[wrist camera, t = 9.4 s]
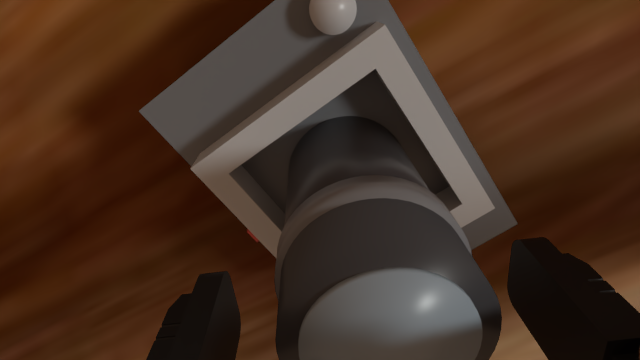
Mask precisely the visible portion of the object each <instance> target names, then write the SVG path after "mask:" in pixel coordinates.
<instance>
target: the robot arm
mask: <svg viewBox="0 0 640 360" xmlns="http://www.w3.org/2000/svg"><path fill="white" fill-rule="evenodd" d="M507 287H508V294H509V298H510V301H511V303H512V305H513V307H514V308H515V310H516V312H517V313H518V315H519V316H520V318H521V319H522V321H523V322H524V324H525V325H526V327H527V328H528V330H529V331H530V333H531V334H532V336H533V337H534V339H535V340H536V342H537V343H538V345H539V346H540V348H541V349H542V351H543V352H544V354H545V355H546V357H547V358H548V360H640V313H639V312H638V311H637V310H636V309H635V308H634V307H633V306H632V305H630V304H629V303H628V302H627V301H626V300H625V299H624V298H623V297H622V296H621V295H620V294H619V293H616V292H615V289H614V288H613V287H612V286H611V285H610V284H608V283H607V282H606V281H603V278H602V277H601V276H600V275H599V274H598V273H597V272H596V271H595V270H594V269H593V268H592V267H591V266H590V265H589V264H587V263H585V262H583V261H581V260H580V259H578V258H576V257H574V256H572V255H570V254H569V253H565V254H562V253H561V252H560V251H559V250H558V249H557V248H556V247H555V246H554V245H553V244H552V243H551V242H550V241H549V240H548V239H546V238H544V237H539V238H530V239H521V240H515V241H514V242H513V244H512V248H511V257H510V266H509V274H508V284H507ZM240 329H241V322H240V313H239V309H238V305H237V301H236V297H235V293H234V290H233V286H232V282H231V278H230V275H229V273H228V272H227V271H224V272H215V273H205V274H200V275H199V277H198V279H197V282H196V284H195V287H194V289H193V292H192V293H191V294H182V295H181V296H180V297H179V298H178V299H177V300H176V301H175V303H174V304H173V305H172V306H171V307H170V308H169V309H168V311H167V314H166V316H165V318H164V321H163V323H162V328H160V330H159V332H158V334H157V336H156V341H154V343H153V345H152V348H151V350H150V352H149V355H148V357H147V359H146V360H235V358H236V353H237V348H238V342H239V337H240Z"/></svg>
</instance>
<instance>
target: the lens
mask: <svg viewBox="0 0 640 360" xmlns="http://www.w3.org/2000/svg"><path fill="white" fill-rule="evenodd" d="M275 290H276V294H277V298H278V301H279V302H278V315H277V328H276V349H277V354H278V357H279V360H489V358H490V357H491V355H492V353H493V352H494V350H495V347H496V345H497V342H498V340H499V336H500V331H501V321H502V316H501V309H500V305H499V301H498V298H497V296H496V294H495V292H494V290H493V288H492V287H491V285H490V283H489V282H488V280H487V279H486V277H485V276H484V274H483V272H482V271H481V269H480V268H479V266H478V265H477V263H476V262H475V260H474V258H473V257H472V252H471V248H470V245H469V242H468V239H467V238H466V236H465V234H464V232H463V230H462V229H461V227H460V226H459V224H458V223H457V221H456V220H455V218H454V217H453V215H452V214H451V212H450V211H449V210H448V208H447V207H446V206H445V204H444V203H443V202H442V201H441V200H440V199H439V198H438V197H437V196H436V195H435V194H433V193H432V192H430V190H429V189H428V187H427V185H426V184H425V182H424V181H423V179H422V178H421V176H420V175H419V173H418V171H417V170H416V168H415V167H414V165H413V164H412V162H411V161H410V159H409V157H408V156H407V154H406V153H405V151H404V150H403V148H402V147H401V145H400V143H399V142H398V140H397V139H396V138H395V136H394V135H393V134H392V133H391V132H390V131H389V130H388V129H387V128H385V127H384V126H383V125H381V124H379V123H377V122H375V121H373V120H370V119H368V118H363V117H358V116H342V117H336V118H332V119H329V120H326V121H324V122H322V123H320V124H318V125H316V126H315V127H313V128H312V129H310V130H309V131H308V132H307V133H306V134H305V135H304V136H303V137H302V138H301V139H300V141H299V142H298V143H297V145H296V147H295V149H294V150H293V153H292V156H291V159H290V163H289V173H288V186H287V199H286V212H285V225H284V228H283V230H282V233H281V235H280V238H279V243H278V247H277V257H276V267H275Z"/></svg>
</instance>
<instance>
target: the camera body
mask: <svg viewBox="0 0 640 360" xmlns="http://www.w3.org/2000/svg"><path fill="white" fill-rule="evenodd" d="M139 112H140V113H141V114H142V115H143V116H144V117H145V118H146V119H147V120H148V122H149V123H150V124H151V125H152V126H153V127H154V128H155V129H156V130H157V131H158V132H159V133H160V134H161V135H162V136H163V137H164V138H165V139H166V140H167V141H168V142H169V144H170V145H171V146H172V147H173V148H174V149H175V150H176V151H177V152H178V153H179V154H180V155H181V156H182V157H183V158H184V159H185V160H186V161H187V162H188V163H189V164H190V166H191V168H190V169H191V170H192V171H193V172H194V173H195V174H196V175H197V176H198V177H199V178H200V179H201V181H202V182H203V183H204V184H205V185H206V186H207V187H208V188H209V189H210V190H211V191H212V192H213V193H214V194H215V195H216V196H217V197H218V198H219V199H220V200H221V201H222V202H223V203H224V205H225V206H226V207H227V208H228V209H229V210H230V211H231V212H232V213H233V214H234V215H235V216H236V217H237V218H238V219H239V220H240V221H241V222H242V223H243V224H244V225H245V226H246V227H247V233H248V234H249V235H250V236H251V237H252V238H253V239H254V240H255V241H256V242H258V241H260V242H261V243H262V244H263V245H264V246H265V247H266V248H267V249H268V250H269V251H270V252H271V254H272V255H273V256H274V257H275V258H276V257H277V247H278V243H279V238H280V235H281V233H282V230H283V228H284V225H285V212H286V199H287V186H288V173H289V163H290V159H291V156H292V153H293V150H294V149H295V147H296V145H297V143H298V142H299V141H300V139H301V138H302V137H303V136H304V135H305V134H306V133H307V132H308V131H309V130H310V129H312V128H313V127H315V126H316V125H318V124H320V123H322V122H324V121H326V120H329V119H332V118H336V117H342V116H358V117H363V118H368V119H370V120H373V121H375V122H377V123H379V124H381V125H383V126H384V127H385V128H387V129H388V130H389V131H390V132H391V133H392V134H393V135H394V136H395V138H396V139H397V140H398V142H399V143H400V145H401V147H402V148H403V150H404V151H405V153H406V154H407V156H408V157H409V159H410V161H411V162H412V164H413V165H414V167H415V168H416V170H417V171H418V173H419V175H420V176H421V178H422V179H423V181H424V182H425V184H426V185H427V187H428V189H429V190H430V192H432V193H433V194H435V195H436V196H437V197H438V198H439V199H440V200H441V201H442V202H443V203H444V204H445V206H446V207H447V208H448V210H449V211H450V212H451V214H452V215H453V217H454V218H455V220H456V221H457V223H458V224H459V226H460V227H461V229H462V230H463V232H464V234H465V236H466V238H467V239H468V242H469V245H470V248H471V250H472V249H474V248H476V247H478V246H479V245H481V244H483V243H485V242H486V241H488V240H490V239H492V238H494V237H495V236H497V235H499V234H501V233H503V232H504V231H506V230H508V229H510V228H511V227H513V226H515V225H517V224H518V223H517V221H516V220H515V218H514V216H513V215H512V213H511V211H510V209H509V208H508V206H507V204H506V202H505V201H504V199H503V197H502V196H501V194H500V192H499V190H498V189H497V187H496V185H495V184H494V182H493V180H492V178H491V177H490V175H489V173H488V172H487V170H486V168H485V166H484V165H483V163H482V161H481V159H480V158H479V156H478V154H477V153H476V151H475V149H474V147H473V146H472V144H471V142H470V141H469V139H468V137H467V135H466V134H465V132H464V130H463V128H462V127H461V125H460V123H459V122H458V120H457V118H456V116H455V115H454V113H453V111H452V110H451V108H450V106H449V104H448V103H447V101H446V99H445V97H444V96H443V94H442V92H441V91H440V89H439V87H438V85H437V84H436V82H435V80H434V79H433V77H432V75H431V73H430V72H429V70H428V68H427V66H426V65H425V63H424V61H423V60H422V58H421V56H420V54H419V53H418V51H417V49H416V48H415V46H414V44H413V42H412V41H411V39H410V37H409V35H408V34H407V32H406V30H405V29H404V27H403V25H402V23H401V22H400V20H399V18H398V17H397V15H396V13H395V11H394V10H393V8H392V6H391V4H390V3H389V1H388V0H274V1H273V2H272V3H271V4H270V5H268V6H267V7H266V8H265V9H263V10H262V11H261V12H260V13H259V14H257V15H256V16H255V17H254V18H252V19H251V20H250V21H249V22H247V23H246V24H245V25H244V26H243V27H241V28H240V29H239V30H238V31H236V32H235V33H234V34H233V35H231V36H230V37H229V38H228V39H227V40H225V41H224V42H223V43H222V44H220V45H219V46H218V47H217V48H216V49H214V50H213V51H212V52H211V53H209V54H208V55H207V56H206V57H204V58H203V59H202V60H201V61H200V62H198V63H197V64H196V65H195V66H193V67H192V68H191V69H190V70H189V71H187V72H186V73H185V74H184V75H182V76H181V77H180V78H179V79H177V80H176V81H175V82H174V83H173V84H171V85H170V86H169V87H168V88H166V89H165V90H164V91H163V92H161V93H160V94H159V95H158V96H157V97H155V98H154V99H153V100H152V101H150V102H149V103H148V104H147V105H146V106H144V107H143V108H142V109H141V110H139Z"/></svg>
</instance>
